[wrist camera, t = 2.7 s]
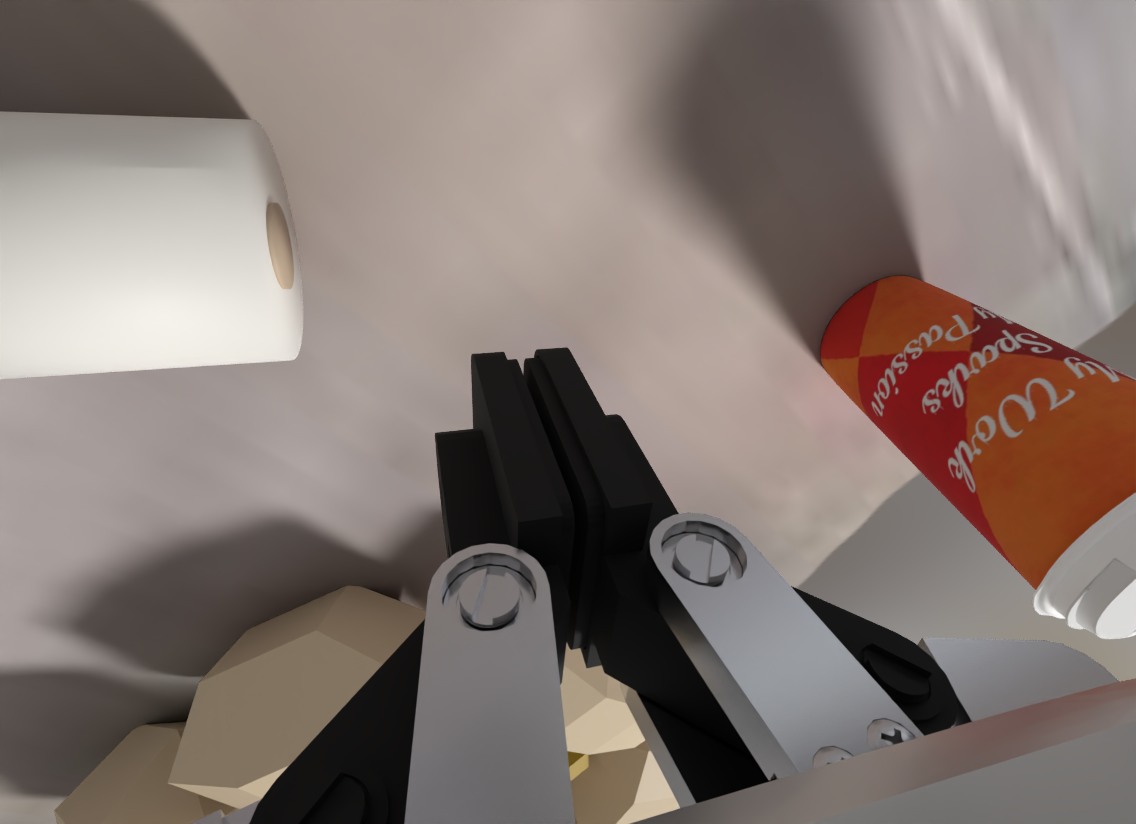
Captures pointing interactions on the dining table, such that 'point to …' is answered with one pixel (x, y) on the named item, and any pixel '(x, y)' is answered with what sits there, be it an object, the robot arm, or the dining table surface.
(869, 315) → the paper cup
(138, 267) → the roll
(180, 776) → the campfire
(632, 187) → the dining table surface
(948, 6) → the dining table surface
